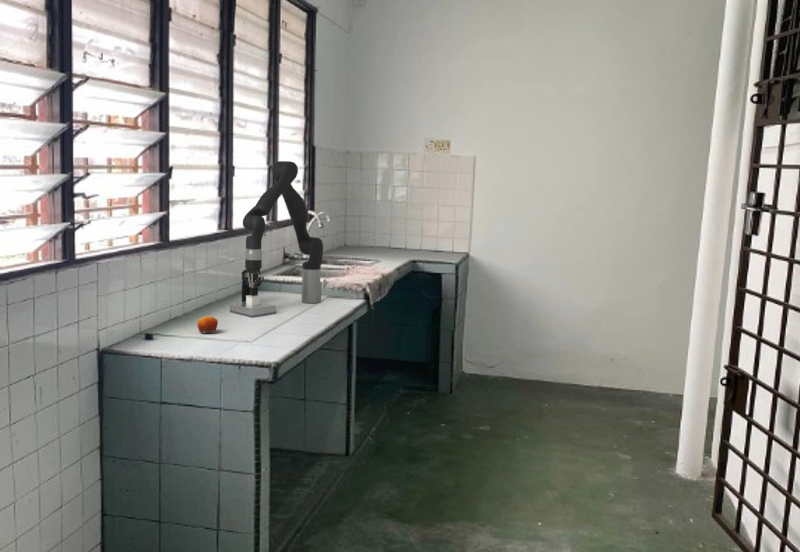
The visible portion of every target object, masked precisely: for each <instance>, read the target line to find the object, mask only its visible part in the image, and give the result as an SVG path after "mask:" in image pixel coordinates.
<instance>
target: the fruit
mask: <svg viewBox="0 0 800 552" xmlns="http://www.w3.org/2000/svg"><path fill="white" fill-rule="evenodd" d="M196 322H197V323H196V324H197V328H198V332H199V333H200V334H204V335H205V334H208V333H211V334H215V331H216V330H217V328H218V323H219V321H218V319H217V318H216V317H214V316H212V315H211V316H209V315H205V316H202V317H201V318H199V319H198V320H197V321H196Z"/></svg>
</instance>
